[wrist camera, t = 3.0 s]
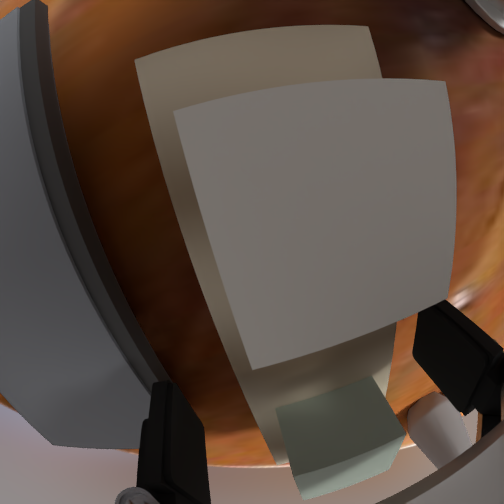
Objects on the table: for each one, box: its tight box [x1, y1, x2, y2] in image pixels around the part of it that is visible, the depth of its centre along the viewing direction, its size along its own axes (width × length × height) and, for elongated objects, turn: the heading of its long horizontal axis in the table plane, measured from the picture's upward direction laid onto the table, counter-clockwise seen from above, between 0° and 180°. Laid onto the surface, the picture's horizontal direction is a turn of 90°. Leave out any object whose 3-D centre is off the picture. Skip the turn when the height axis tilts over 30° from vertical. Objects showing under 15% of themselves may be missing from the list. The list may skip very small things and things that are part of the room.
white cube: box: [173, 78, 456, 370], centre depth 6 cm, size 4×4×4 cm
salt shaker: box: [407, 391, 472, 469], centre depth 17 cm, size 6×6×13 cm
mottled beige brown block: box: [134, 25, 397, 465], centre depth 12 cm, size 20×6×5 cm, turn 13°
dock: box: [0, 0, 173, 449], centre depth 10 cm, size 24×13×3 cm, turn 13°
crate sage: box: [275, 376, 406, 500], centre depth 10 cm, size 4×4×4 cm
